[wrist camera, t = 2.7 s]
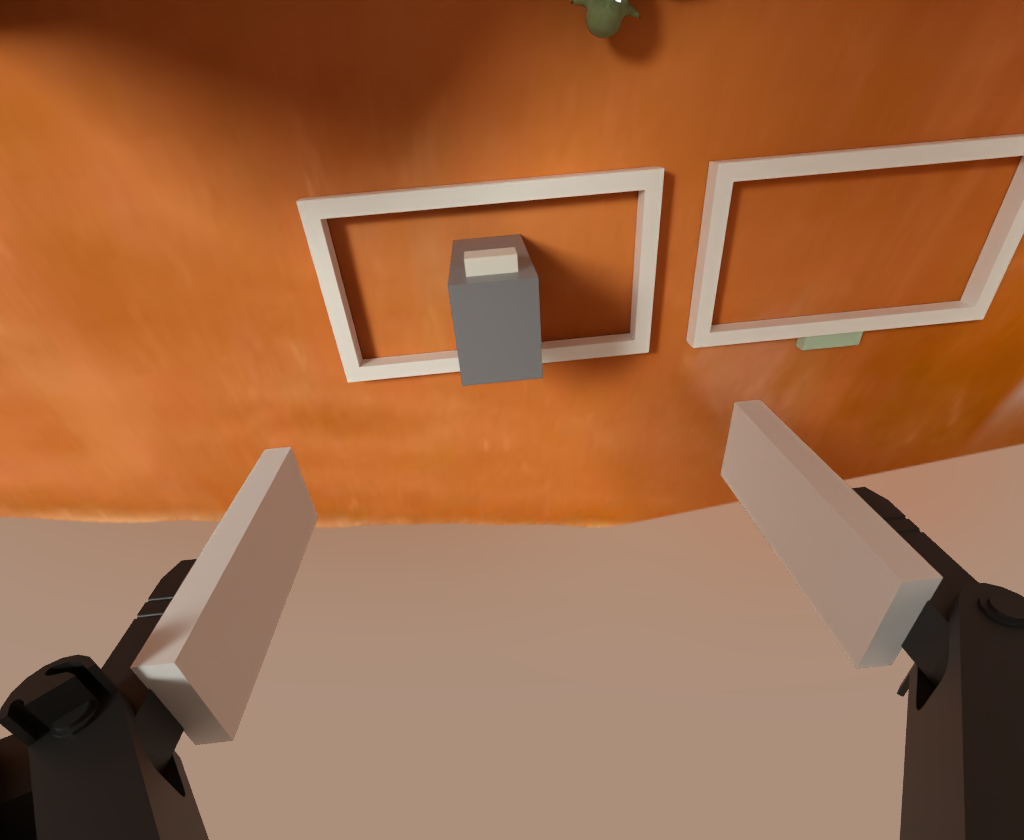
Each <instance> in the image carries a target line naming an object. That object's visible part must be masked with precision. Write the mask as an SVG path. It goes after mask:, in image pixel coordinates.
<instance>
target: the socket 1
mask: <svg viewBox="0 0 1024 840" xmlns="http://www.w3.org/2000/svg"><path fill="white" fill-rule="evenodd" d="M664 169H665V168H662V167H659V166H653V167H642V168H631V169H620V170H609V171H597V172H586V173H575V174H564V175H552V176H541V177H530V178H519V179H508V180H496V181H485V182H474V183H463V184H452V185H440V186H429V187H418V188H407V189H396V190H384V191H373V192H362V193H351V194H340V195H328V196H317V197H306V198H301V199H299V200H297V201H296V203H297V206H298V210H299V213H300V217H301V220H302V224H303V227H304V231H305V234H306V238H307V241H308V245H309V248H310V252H311V255H312V259H313V262H314V266H315V269H316V273H317V276H318V280H319V283H320V287H321V290H322V294H323V297H324V301H325V304H326V308H327V311H328V315H329V318H330V322H331V325H332V329H333V332H334V336H335V339H336V343H337V346H338V350H339V353H340V357H341V360H342V364H343V367H344V371H345V374H346V378H347V381H348V382H357V381H367V380H377V379H388V378H398V377H408V376H418V375H428V374H438V373H448V372H458V371H460V367H459V360H458V353H457V350H453V351H442V352H432V353H422V354H412V355H402V356H391V357H381V358H371V359H363V358H362V354H361V350H360V346H359V343H358V339H357V335H356V331H355V327H354V323H353V320H352V316H351V312H350V308H349V304H348V300H347V296H346V293H345V289H344V285H343V281H342V277H341V273H340V269H339V266H338V262H337V258H336V254H335V250H334V246H333V242H332V239H331V235H330V231H329V227H328V223H327V219H328V218H339V217H350V216H361V215H372V214H384V213H395V212H406V211H417V210H428V209H439V208H450V207H461V206H472V205H483V204H494V203H505V202H516V201H527V200H538V199H549V198H560V197H571V196H583V195H594V194H605V193H616V192H627V191H638V190H639V191H638V207H637V223H636V240H635V256H634V272H633V289H632V305H631V321H630V333H626V334H616V335H605V336H595V337H585V338H575V339H565V340H555V341H544V342H541V348H542V363H549V362H559V361H569V360H579V359H589V358H599V357H609V356H619V355H629V354H639V353H649V344H650V332H651V321H652V309H653V297H654V286H655V274H656V262H657V251H658V239H659V227H660V215H661V204H662V192H663V180H664Z"/></svg>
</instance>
